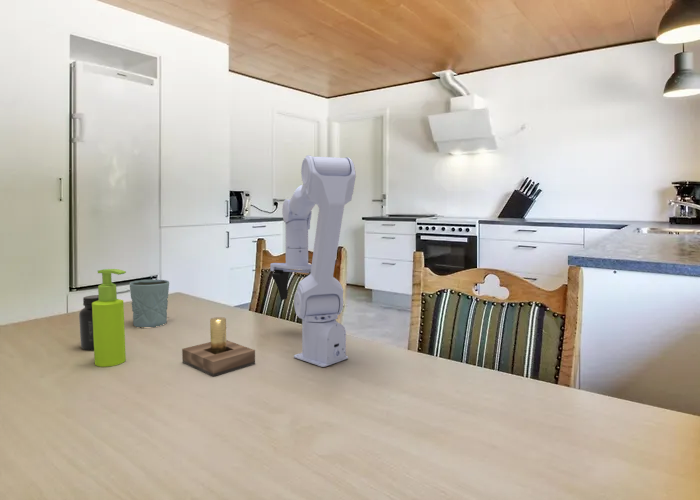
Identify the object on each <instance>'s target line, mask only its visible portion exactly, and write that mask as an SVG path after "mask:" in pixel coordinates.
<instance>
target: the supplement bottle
mask: <svg viewBox="0 0 700 500" xmlns="http://www.w3.org/2000/svg"><path fill="white" fill-rule="evenodd" d="M98 300H99V296H98V294H94V295H93V294H92V295H86V296H84V297H83V298H82V301H83V304H82V305H83V308H82V309H81V310H80V311H79V312H78V313H79V314H78V317H79V318H78V319H79V320H78V321H79V335H80V338H79V339H80V347H81V349H82V350H85V351H94V337H93V316H92V303H93V302H95V301H98Z"/></svg>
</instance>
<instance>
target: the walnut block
mask: <svg viewBox="0 0 700 500" xmlns="http://www.w3.org/2000/svg"><path fill="white" fill-rule="evenodd" d="M181 353H182V354H181V355H182V363H183V364H185V365H187V366H189V367H192V368H194V369H196V370H198V371H200V372H202V373H205V374H207V375H209V376H212V377H217V376H221V375H224V374H227V373H231V372H233V371H236V370H237V371H238V370H240V369H243V368H246V367H247V368H248V367H250V366H253V365H256V350H255V349H253V348H250V347H247V346H244V345H241V344H239V343H235V342H233V341H231V340H227V339H226V352H222V353H219V354H212V353H211V341H209V342H206V343H201V344H197V345H194V346H192V345H191V346H189V347H185V348H181Z"/></svg>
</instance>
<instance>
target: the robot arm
mask: <svg viewBox="0 0 700 500" xmlns="http://www.w3.org/2000/svg"><path fill="white" fill-rule="evenodd" d="M355 169H356V168H355V164H354V161H353V160H352V159H351V158H350V157H334V156H312V155H306V156H305V157H304V158H303V160H302V162H301V169H300V171H301V172H300V173H301V181H302V183H303V184H300V185H299V186H298V187H296V188H295V190H294V191H293V194H292V195H291V197H290V199H288V198H285V199H284V200H283V203H282V209H281V210H282V214H281V215H282V218H283V219H282V220H283V223H285V224H284V226H285V227H284V228H285V234H284V235H285V262H272V263H270V264H269V265H270V267H269V269H270V270H269V271H270V272H273V273H271V277H272V278H273V281H274V282H275V284H276V286H277V290H278V293H279V297H280V300H281V301H282V300H283V301H284V300H286V299H288V281H289V277H290V273H300V274H301V273H303V274H305V275H304V278H302V279H301V280H300V281H299V282H298V284H297V288H296V291H295V293H294V297H293V299H294V301H293V305H294V311H295V315H296V316H298V318H299V319H301V322H302V324H301V325H302V326H301V330H302V331H301V334H302V335H301V338H302V340H301V343H302V344H301V352H300V353H297V354H293V358H295V359H298V360H301V361H304V362H307V363H309V364H313V365H316V366H318V367H321V368H325V367H328V366H331V365H334V364H337V363H339V362H342V361H346V360H347V359H349V356H348V355H346V352H347V351H346V350H347V349H346V348H347V344H346V342H347V341H346V340H347V339H346V338H347V337H346V336H347V333H346V332H347V331H346V329H345V326H344V325H343V324H342V323H340V322H338V321H337V319H338V316H339V315H341V314H342V311H343V309H344V289H343V286H342V284H341V282H340V281H339V280H338V279H337V278H336V277H334V273H335V267H336V266H335V265H336V261H337V260H336V259H337V253H338V248H339V247H338V246H339V240H340V234H341V228H342V224H343V223H342V221H343V215H344V210H345V205H347V204H348V203H350V202H351V201H352V198H353V194H354V189H355V182H356V177H357V175H356V170H355ZM316 205H317V206H318V214H317V221H316V229H315V236H314V237H315V238H314V243H313V244H314V245H313V251H312V252H313V253H312V258H311V259H312V260H311V264H310V263H309V230H310V228H311V220H312V210H313V209H314V208H315V206H316Z"/></svg>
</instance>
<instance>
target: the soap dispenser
mask: <svg viewBox="0 0 700 500" xmlns="http://www.w3.org/2000/svg"><path fill="white" fill-rule="evenodd" d="M126 273H127V271H125V270H123V269H118V268H104V269H100V270H97V274H101V276H102V283H100V284H99V285H98V286H97V289H98V290H97V293H98V294H97V295H98V296H99V300H98V301H95V302H93V303H92V316H93V337H94V350H93V353H94V357H93V360H94V365H95V366H96V367H98V368H99V367H101V368H104V367H105V368H106V367H113V366H118V365H121V364H123V363H125V362H126V360H127V359H126V358H127V357H126V355H127V354H126V334H125V330H126V329H125V308H124V307H125V306H124V305H125V304H124V303H125V302H124V300H123V299H119V298H118V295H117V284H115V283H114V282H112V274H115V275H117V276H119V275H124V274H126Z"/></svg>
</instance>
